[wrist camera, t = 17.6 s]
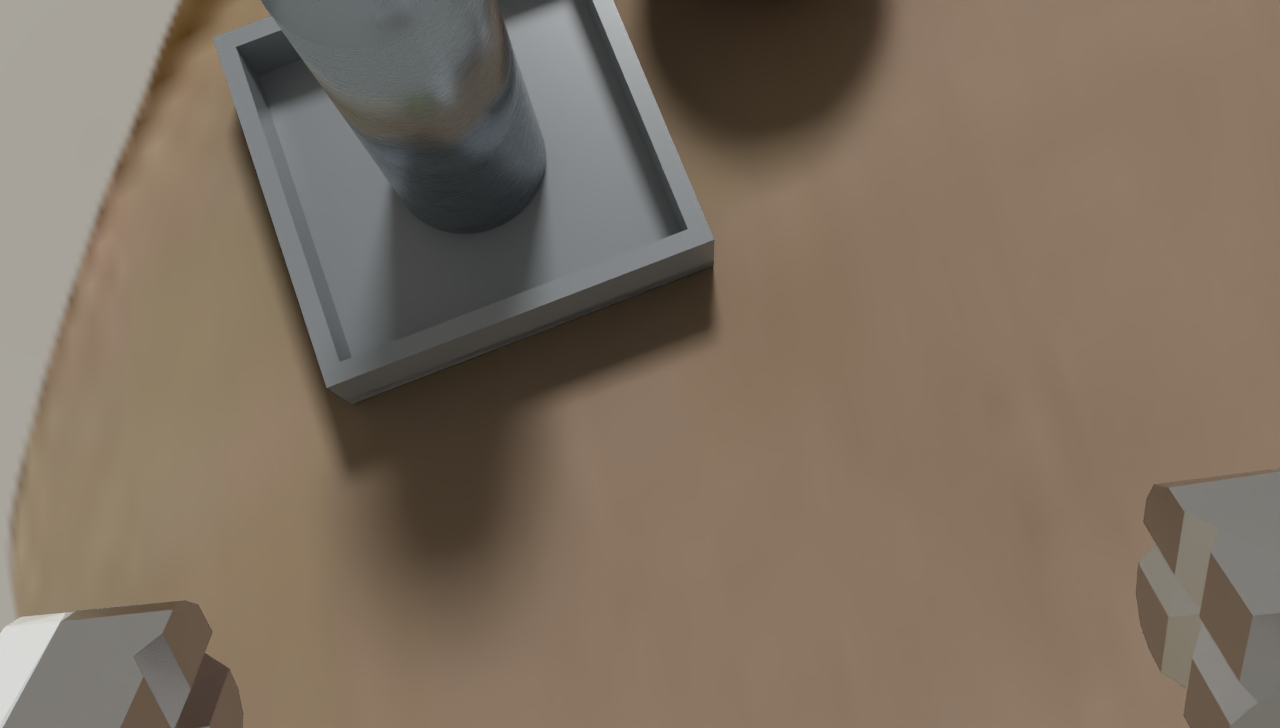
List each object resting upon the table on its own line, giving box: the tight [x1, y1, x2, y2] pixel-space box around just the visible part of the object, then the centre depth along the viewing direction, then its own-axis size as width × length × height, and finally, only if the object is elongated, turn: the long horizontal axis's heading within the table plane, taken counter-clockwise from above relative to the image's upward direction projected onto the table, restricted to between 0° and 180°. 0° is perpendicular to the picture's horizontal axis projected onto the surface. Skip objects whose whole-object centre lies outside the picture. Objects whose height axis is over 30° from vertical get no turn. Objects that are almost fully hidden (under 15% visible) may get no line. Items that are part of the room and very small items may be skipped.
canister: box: [261, 0, 546, 234], centre depth 32 cm, size 5×5×12 cm
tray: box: [213, 0, 714, 404], centre depth 37 cm, size 12×12×2 cm
